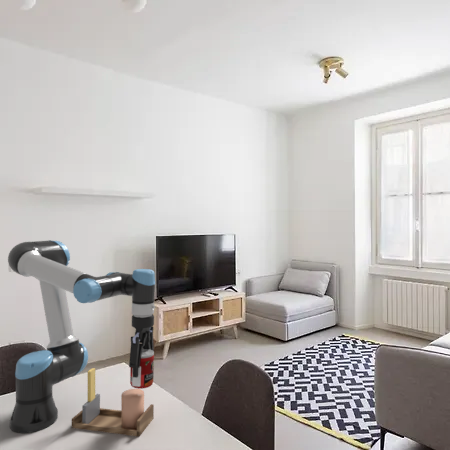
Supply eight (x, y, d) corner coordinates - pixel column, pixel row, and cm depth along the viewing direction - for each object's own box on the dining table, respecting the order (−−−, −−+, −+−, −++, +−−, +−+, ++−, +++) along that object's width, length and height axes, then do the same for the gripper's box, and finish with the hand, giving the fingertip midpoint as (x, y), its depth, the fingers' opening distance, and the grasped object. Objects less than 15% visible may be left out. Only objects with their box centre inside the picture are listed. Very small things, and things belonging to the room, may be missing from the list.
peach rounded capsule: (117, 430, 127) (117, 397, 127) (127, 418, 134) (127, 387, 134) (138, 432, 125) (138, 399, 125) (147, 420, 133) (147, 389, 133)
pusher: (82, 426, 129) (82, 374, 129) (96, 412, 138) (96, 364, 138) (85, 426, 128) (85, 375, 128) (99, 413, 137) (99, 365, 137)
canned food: (148, 390, 125) (149, 357, 125) (125, 387, 126) (126, 355, 126) (156, 380, 132) (157, 349, 132) (135, 378, 134) (136, 347, 134)
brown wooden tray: (71, 429, 128) (71, 413, 128) (90, 412, 140) (90, 397, 140) (139, 438, 123) (139, 421, 123) (153, 420, 134) (153, 404, 134)
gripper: (140, 323, 118) (139, 395, 118) (164, 308, 138) (162, 370, 139) (118, 321, 120) (117, 392, 120) (145, 307, 140) (143, 367, 140)
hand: (141, 380), depth 129 cm, fingers closed on canned food, 8 cm apart
